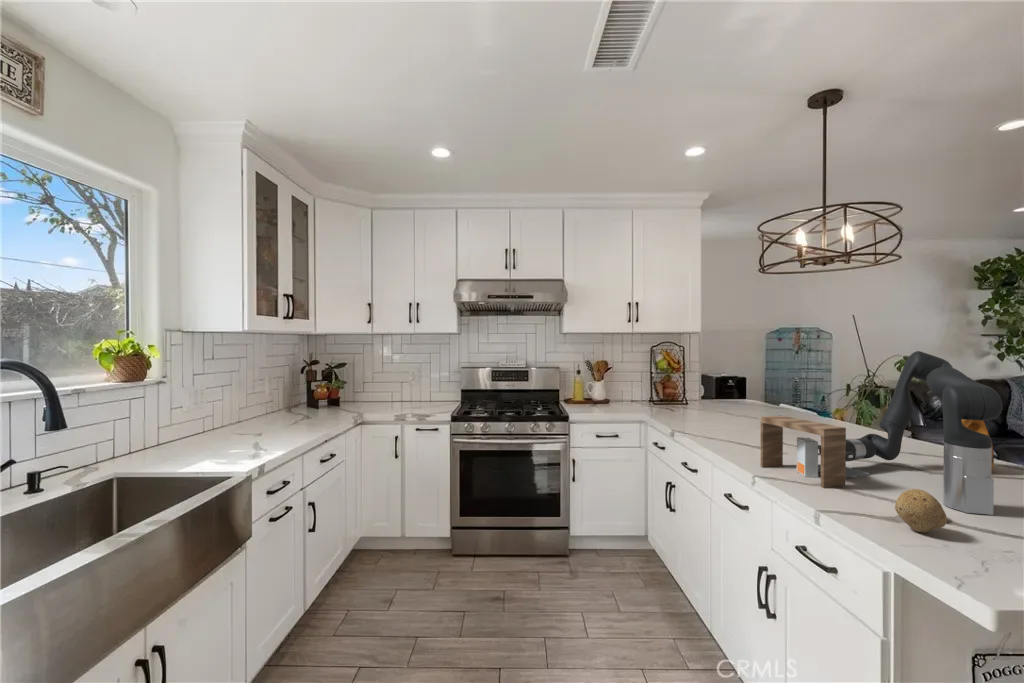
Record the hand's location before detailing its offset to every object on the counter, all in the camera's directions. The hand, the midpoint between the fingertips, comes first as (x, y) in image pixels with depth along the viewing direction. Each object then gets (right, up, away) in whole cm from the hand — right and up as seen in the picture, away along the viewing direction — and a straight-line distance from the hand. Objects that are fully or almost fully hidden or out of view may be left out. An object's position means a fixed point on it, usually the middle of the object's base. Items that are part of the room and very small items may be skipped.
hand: (810, 453), depth 154 cm
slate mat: (+11, -7, +3) cm, 13 cm away
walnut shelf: (-4, -7, -1) cm, 8 cm away
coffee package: (+61, -7, +6) cm, 61 cm away
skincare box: (-1, -7, 0) cm, 7 cm away
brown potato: (-4, -8, -45) cm, 46 cm away
